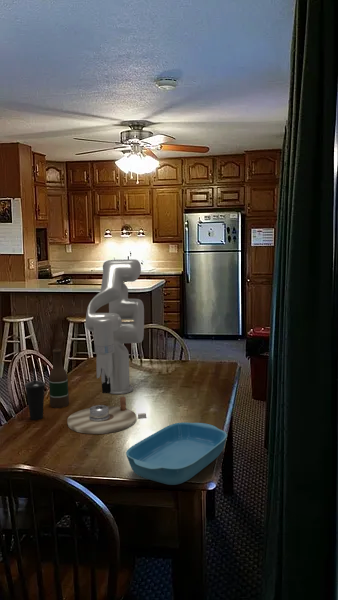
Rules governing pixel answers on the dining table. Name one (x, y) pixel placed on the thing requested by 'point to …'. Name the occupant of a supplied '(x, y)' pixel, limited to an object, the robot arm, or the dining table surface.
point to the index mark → (142, 415)
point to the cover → (99, 413)
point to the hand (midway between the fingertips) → (106, 392)
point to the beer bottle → (58, 382)
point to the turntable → (116, 422)
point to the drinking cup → (35, 398)
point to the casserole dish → (176, 452)
